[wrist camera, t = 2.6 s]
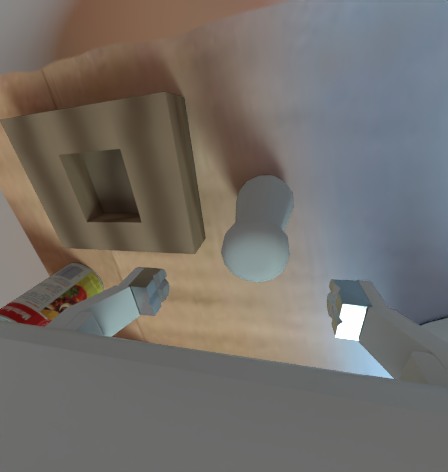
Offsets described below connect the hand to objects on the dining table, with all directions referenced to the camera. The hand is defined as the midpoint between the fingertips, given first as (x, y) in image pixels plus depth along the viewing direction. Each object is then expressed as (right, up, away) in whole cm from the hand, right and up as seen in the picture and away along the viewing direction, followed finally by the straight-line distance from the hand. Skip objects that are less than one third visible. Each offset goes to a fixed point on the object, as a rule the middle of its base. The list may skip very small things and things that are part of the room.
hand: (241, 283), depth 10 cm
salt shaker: (+4, +7, +13) cm, 16 cm away
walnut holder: (-14, +9, +17) cm, 24 cm away
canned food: (-27, -6, +28) cm, 39 cm away
